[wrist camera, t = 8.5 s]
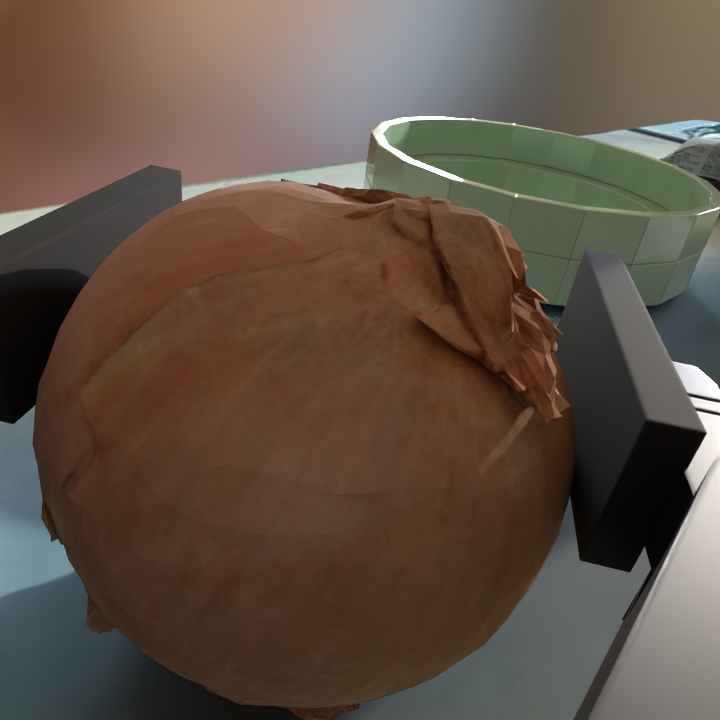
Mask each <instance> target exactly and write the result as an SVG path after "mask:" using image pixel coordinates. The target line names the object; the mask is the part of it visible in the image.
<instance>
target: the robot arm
mask: <svg viewBox="0 0 720 720" xmlns="http://www.w3.org/2000/svg"><path fill="white" fill-rule="evenodd" d="M181 202H182V186H181V171H179V170H174V169H168V168H163V167H158V166H153V165H150V166H149V167H146V168H144V169H142V170H140V171H137V172H135V173H133V174H131V175H129V176H127V177H125V178H123V179H120V180H118V181H116V182H114V183H112V184H110V185H108V186H106V187H103V188H101V189H99V190H97V191H95V192H92V193H90V194H88V195H86V196H84V197H82V198H80V199H77V200H76V201H73V202H71V203H69V204H67V205H65V206H62V207H60V208H58V209H56V210H54V211H52V212H50V213H47V214H45V215H43V216H41V217H39V218H37V219H35V220H32V221H30V222H28V223H26V224H24V225H22V226H20V227H17V228H15V229H13V230H11V231H9V232H7V233H5V234H2V235H0V421H2V422H6V423H11V424H14V423H15V422H17V421H18V420H19V419H20V418H21V417H22V416H23V415H25V414H26V413H27V412H28V411H29V410H30V409H31V408H33V407H34V406H35V405H36V400H37V392H38V385H39V381H40V379H41V377H42V374H43V372H44V369H45V367H46V364H47V362H48V359H49V356H50V353H51V350H52V348H53V345H54V342H55V339H56V336H57V334H58V331H59V328H60V326H61V324H62V323H63V321H64V319H65V317H66V316H67V314H68V312H69V310H70V308H71V307H72V305H73V303H74V301H75V300H76V298H77V296H78V294H79V293H80V291H81V290H82V289H83V287H84V286H85V285H86V283H87V282H88V280H89V279H90V278H91V276H92V275H93V274H94V272H95V271H96V270H97V269H98V268H99V266H100V265H101V264H102V263H103V262H104V261H105V259H106V258H107V257H108V256H109V255H110V254H111V253H112V252H113V251H114V250H115V249H116V248H117V247H118V246H119V245H120V244H121V243H122V242H123V241H125V240H126V239H127V238H128V237H129V236H131V235H132V234H133V233H134V232H136V231H137V230H138V229H139V228H140V227H142V226H143V225H144V224H146V223H147V222H149V221H150V220H152V219H153V218H155V217H156V216H158V215H159V214H161V213H162V212H164V211H165V210H167V209H169V208H171V207H173V206H175V205H177V204H179V203H181ZM558 329H559V330H560V331H561V332H562V334H563V335H564V336H563V338H562V339H561V338H559V337H558V336H556V335H555V341H556V343H557V345H558V346H557V351H556V352H554V353H555V355H556V357H557V360H558V362H559V364H560V366H561V369H562V371H563V373H564V375H565V378H566V381H567V385H568V389H569V392H570V397H571V404H572V410H573V417H574V424H575V453H576V464H575V470H574V475H573V480H572V485H571V491H570V496H571V503H572V510H573V516H574V523H575V530H576V537H577V544H578V550H579V557H580V560H581V561H585V562H589V563H593V564H597V565H601V566H605V567H610V568H614V569H618V570H622V571H626V572H631V570H632V568H633V566H634V564H635V563H636V561H637V559H638V557H639V555H640V554H641V552H642V550H643V548H644V546H645V547H646V551H647V555H648V558H649V562H650V566H651V570H650V572H649V574H648V575H647V577H646V579H645V581H644V582H643V584H642V586H641V587H640V589H639V591H638V593H637V594H636V596H635V598H634V600H633V601H632V603H631V605H630V607H629V608H628V610H627V612H626V613H625V615H624V617H623V619H622V620H624V621H623V623H622V625H621V627H620V629H619V631H618V633H617V635H616V637H615V639H614V641H613V643H612V645H611V647H610V649H609V651H608V652H607V654H606V656H605V658H604V660H603V662H602V664H601V666H600V668H599V670H598V672H597V674H596V676H595V678H594V680H593V682H592V684H591V686H590V688H589V690H588V692H587V694H586V696H585V698H584V700H583V702H582V704H581V706H580V708H579V710H578V712H577V714H576V716H575V717H574V719H573V720H720V390H719V388H718V386H717V384H716V383H715V382H714V381H712V380H711V379H710V378H709V377H708V376H707V375H705V374H704V373H703V372H702V371H701V370H700V369H698V368H697V367H696V366H692V365H688V364H683V363H678V362H673V361H672V360H671V358H670V356H669V354H668V352H667V350H666V348H665V346H664V344H663V342H662V340H661V337H660V335H659V333H658V331H657V329H656V327H655V325H654V323H653V321H652V319H651V317H650V315H649V313H648V311H647V309H646V307H645V305H644V303H643V300H642V298H641V296H640V294H639V292H638V290H637V288H636V286H635V284H634V282H633V280H632V278H631V276H630V274H629V272H628V270H627V268H626V266H625V264H624V261H623V259H622V257H621V255H620V254H615V253H610V252H604V251H599V250H594V249H589V248H585V251H584V253H583V256H582V259H581V262H580V265H579V268H578V271H577V274H576V277H575V280H574V282H573V285H572V288H571V291H570V294H569V297H568V300H567V303H566V306H565V308H564V311H563V314H562V317H561V320H560V323H559V326H558Z"/></svg>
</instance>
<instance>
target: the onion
mask: <svg viewBox="0 0 720 720" xmlns="http://www.w3.org/2000/svg"><path fill="white" fill-rule="evenodd" d="M523 255H524V254H523V253H522V252H521V250H520V248H519V247H518V245H517V243H516V241H515V239H514V238H513V236H512V234H511V232H510V230H509V229H508V228H507V227H506V226H504V225H502V224H500V223H498V222H497V221H495V220H493V219H491V218H490V217H488V216H486V215H484V214H483V213H481V212H479V211H478V210H476V209H472V208H464V207H462V206H461V205H460V204H459V203H458V201H454V200H449V199H439V198H431V197H429V196H425V197H419V198H411V197H410V196H408V195H407V194H401V193H395V192H392V191H388V190H381V189H355V188H348V187H347V188H343V189H342V188H338V187H335V186H330V185H326V184H322V183H319V184H318V185H317V186H315V185H308V184H301V183H297V182H293V181H289V180H285V179H281V181H261V182H253V183H246V184H238V185H234V186H229V187H224V188H220V189H216V190H212V191H209V192H206V193H203V194H200V195H197V196H194V197H192V198H189V199H187V200H185V201H182V202H181V203H179V204H177V205H175V206H173V207H171V208H169V209H167V210H165V211H164V212H162V213H161V214H159V215H158V216H156V217H155V218H153V219H152V220H150V221H149V222H147V223H146V224H144V225H143V226H142V227H140V228H139V229H138V230H137V231H136V232H134V233H133V234H132V235H131V236H129V237H128V238H127V239H126V240H125V241H123V242H122V243H121V244H120V245H119V246H118V247H117V248H116V249H115V250H114V251H113V252H112V253H111V254H110V255H109V256H108V257H107V258H106V259H105V261H104V262H103V263H102V264H101V265H100V266H99V268H98V269H97V270H96V271H95V272H94V274H93V275H92V276H91V278H90V279H89V280H88V282H87V283H86V285H85V286H84V287H83V289H82V290H81V291H80V293H79V294H78V296H77V298H76V300H75V301H74V303H73V305H72V307H71V308H70V310H69V312H68V314H67V316H66V317H65V319H64V321H63V323H62V324H61V326H60V328H59V331H58V334H57V336H56V339H55V342H54V345H53V348H52V350H51V353H50V356H49V359H48V362H47V364H46V367H45V369H44V372H43V374H42V377H41V379H40V381H39V385H38V392H37V400H36V407H35V419H34V431H33V448H34V452H35V457H36V461H37V465H38V471H39V478H40V485H41V491H42V498H43V502H42V520H43V522H44V524H45V526H46V528H47V529H48V531H49V533H50V535H51V542H52V541H53V540H56V539H58V540H59V541H60V543H61V545H64V547H65V550H66V553H67V557H68V560H69V561H70V563H71V564H72V566H73V568H74V569H75V571H76V572H77V574H78V575H79V577H80V578H81V580H82V582H83V584H84V587H85V589H86V592H87V594H88V607H87V624H86V628H88V629H89V630H91V631H93V632H96V633H99V634H101V633H103V632H109V631H112V628H113V626H114V627H116V628H117V629H118V630H119V631H120V632H121V633H122V634H123V635H124V636H126V637H127V638H128V639H129V640H130V641H131V642H132V643H133V644H135V645H136V646H137V647H138V648H139V649H140V650H141V651H142V652H144V653H145V654H146V655H147V656H148V657H149V658H151V659H153V660H154V661H156V662H158V663H159V664H161V665H163V666H164V667H166V668H168V669H169V670H171V671H173V672H174V673H176V674H178V675H180V676H182V677H184V678H186V679H188V680H191V681H194V682H196V683H199V684H202V685H203V686H204V687H205V688H206V690H207V691H209V692H212V693H215V694H217V695H220V696H223V697H225V698H228V699H230V700H232V701H234V702H236V703H238V704H240V705H265V706H278V707H281V708H288V709H287V710H289V709H290V710H291V711H292V712H293V713H294V714H295V715H297V716H298V717H300V718H302V719H311V720H330V719H331V718H332V717H333V716H334V715H335V714H339V713H343V712H345V713H346V712H348V711H351V710H352V709H351V708H353V710H354V709H358V708H359V704H360V703H362V702H365V701H369V700H373V699H377V698H380V697H384V696H387V695H390V694H393V693H396V692H399V691H402V690H405V689H408V688H411V687H414V686H417V685H419V684H421V683H423V682H425V681H427V680H430V679H432V678H434V677H436V676H437V675H439V674H440V673H442V672H443V671H445V670H446V669H448V668H449V667H451V666H452V665H454V664H455V663H457V662H458V661H460V660H462V659H463V658H465V657H466V656H468V655H469V654H471V653H472V652H474V651H475V650H477V649H478V648H480V647H481V646H483V645H484V644H485V643H486V642H487V641H488V640H489V639H490V637H491V636H492V635H493V634H494V633H495V632H496V631H497V630H498V629H499V628H500V627H501V625H502V624H503V623H504V622H505V621H506V620H507V619H508V617H509V616H510V614H511V613H512V612H513V610H514V609H515V608H516V606H517V605H518V604H519V602H520V601H521V600H522V598H523V597H524V596H525V594H526V593H527V591H528V590H529V589H530V587H531V586H532V585H533V583H534V581H535V579H536V577H537V575H538V574H539V572H540V570H541V568H542V566H543V564H544V562H545V561H546V559H547V557H548V555H549V553H550V551H551V549H552V547H553V545H554V543H555V541H556V539H557V537H558V535H559V532H560V528H561V525H562V521H563V518H564V514H565V511H566V507H567V504H568V500H569V496H570V491H571V485H572V480H573V475H574V470H575V464H576V453H575V424H574V417H573V410H572V404H571V397H570V392H569V389H568V385H567V381H566V378H565V375H564V373H563V371H562V369H561V366H560V364H559V362H558V360H557V357H556V355H555V353H554V352H556V351H557V346H558V345H557V343H556V341H555V335H556V336H558V337H559V338H561V339H562V338H563V336H564V335H563V334H562V332H561V331H560V330H559V329H558V328H557V327H556V326H555V325H554V324H553V322H552V321H551V320H550V318H549V317H548V316H547V315H546V314H545V313H544V312H543V311H542V309H541V307H540V304H539V302H538V300H541V301H544V302H547V303H548V301H547V299H546V298H544V297H543V296H542V295H541V294H540V293H538V292H537V291H536V290H534V289H532V288H530V287H528V286H527V285H526V277H525V272H526V270H527V268H528V267H527V266H526V264H525V262H524V261H523ZM554 334H555V335H554ZM355 704H356V705H355ZM356 706H357V707H356ZM291 715H292V714H291Z"/></svg>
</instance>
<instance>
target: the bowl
mask: <svg viewBox="0 0 720 720" xmlns="http://www.w3.org/2000/svg"><path fill="white" fill-rule="evenodd" d="M364 189H381V190H388V191H392V192H395V193H401V194H407V195H408V196H410V197H411V198H419V197H425V196H429V197H431V198H439V199H449V200H454V201H458V203H459V204H460V205H461V206H462V207H464V208H472V209H476V210H478V211H479V212H481V213H483V214H484V215H486V216H488V217H490V218H491V219H493V220H495V221H497V222H498V223H500V224H502V225H504V226H506V227H507V228H508V229H509V230H510V232H511V234H512V236H513V238H514V239H515V241H516V243H517V245H518V247H519V248H520V250H521V252H522V253H523V254H524V255H523V261H524V262H525V264H526V266H527V267H528V268H527V270H526V272H525V277H526V285H527V286H528V287H530V288H532V289H534V290H536V291H537V292H538V293H540V294H541V295H542V296H543V297H544V298H546V299H547V301H548V303H547V302H544V301H541V300H538V302H539V303H544V304H550V305H561V306H566V303H567V300H568V297H569V294H570V291H571V288H572V285H573V282H574V280H575V277H576V274H577V271H578V268H579V265H580V262H581V259H582V256H583V253H584V251H585V248H589V249H594V250H599V251H604V252H610V253H615V254H620V255H621V257H622V259H623V261H624V264H625V266H626V268H627V270H628V272H629V274H630V276H631V278H632V280H633V282H634V284H635V286H636V288H637V290H638V292H639V294H640V296H641V298H642V300H643V303H644V305H645V306H652V305H659V304H661V303H663V302H665V301H667V300H669V299H671V298H673V297H675V296H677V295H679V294H681V293H683V292H684V291H685V289H686V286H687V284H688V282H689V280H690V278H691V275H692V273H693V271H694V269H695V267H696V264H697V262H698V260H699V258H700V256H701V253H702V251H703V249H704V247H705V245H706V242H707V240H708V238H709V236H710V234H711V231H712V229H713V227H714V225H715V223H716V220H717V218H718V216H719V214H720V192H719V191H718V190H717V189H716V188H715V187H714V186H713V185H712V184H710V183H709V182H708V181H706V180H704V179H702V178H700V177H698V176H696V175H694V174H692V173H690V172H688V171H686V170H684V169H682V168H680V167H678V166H675V165H672V164H670V163H667V162H664V161H661V160H659V159H656V158H653V157H650V156H648V155H645V154H641V153H639V152H635V151H632V150H628V149H625V148H621V147H618V146H614V145H611V144H607V143H604V142H599V141H596V140H592V139H587V138H583V137H578V136H573V135H570V134H565V133H561V132H556V131H551V130H545V129H539V128H534V127H528V126H522V125H516V124H509V123H502V122H493V121H485V120H477V119H464V118H447V117H414V118H401V119H396V120H392V121H387V122H382V123H380V124H379V125H378V126H377V127H376V128H375V129H374V130H373V131H372V132H371V137H370V144H369V151H368V159H367V166H366V174H365V182H364Z"/></svg>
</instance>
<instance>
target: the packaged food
mask: <svg viewBox="0 0 720 720" xmlns="http://www.w3.org/2000/svg"><path fill="white" fill-rule="evenodd" d="M659 160H661V161H664V162H667V163H670V164H672V165H675V166H678V167H680V168H682V169H684V170H686V171H688V172H690V173H692V174H694V175H696V176H698V177H700V178H702V179H704V180H706V181H708V182H709V183H710V184H712V185H713V186H714V187H715V188H716V189H717V190H718V191H719V192H720V140H717V139H707V138H702V137H696V136H694V137H693V138H691V139H689V140H688V141H686V142H685V143H684V144H683V145H681V146H680V147H679V148H677V149H676V150H675V151H674V152H673V153H672V152H671V153H670V154H668V155H667V156H666V157H664V158H662V159H659Z"/></svg>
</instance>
